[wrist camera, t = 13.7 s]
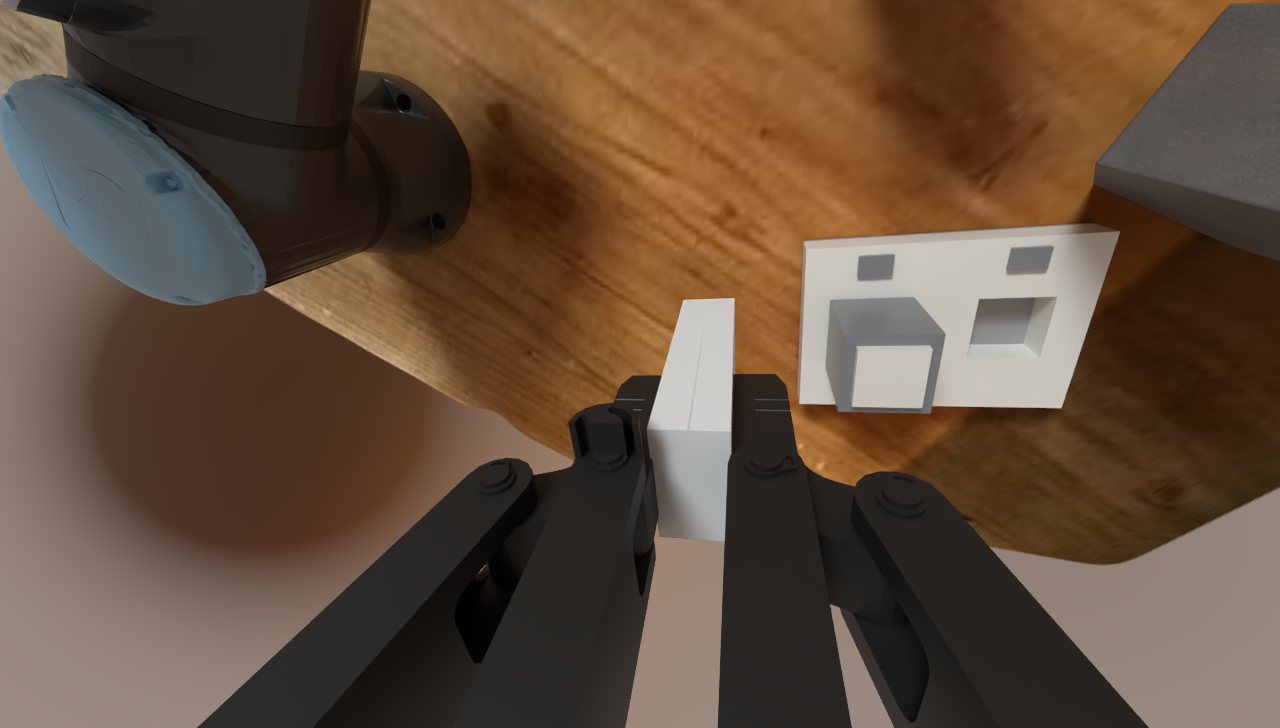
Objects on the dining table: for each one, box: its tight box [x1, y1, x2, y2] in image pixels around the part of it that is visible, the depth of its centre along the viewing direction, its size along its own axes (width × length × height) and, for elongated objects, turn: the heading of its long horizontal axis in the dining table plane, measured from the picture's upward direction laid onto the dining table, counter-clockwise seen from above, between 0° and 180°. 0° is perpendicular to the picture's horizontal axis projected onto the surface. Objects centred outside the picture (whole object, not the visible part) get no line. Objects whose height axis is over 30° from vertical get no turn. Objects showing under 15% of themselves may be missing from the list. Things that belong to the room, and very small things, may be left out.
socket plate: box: [797, 223, 1120, 408], centre depth 38 cm, size 20×14×3 cm
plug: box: [825, 297, 946, 414], centre depth 36 cm, size 6×6×11 cm
